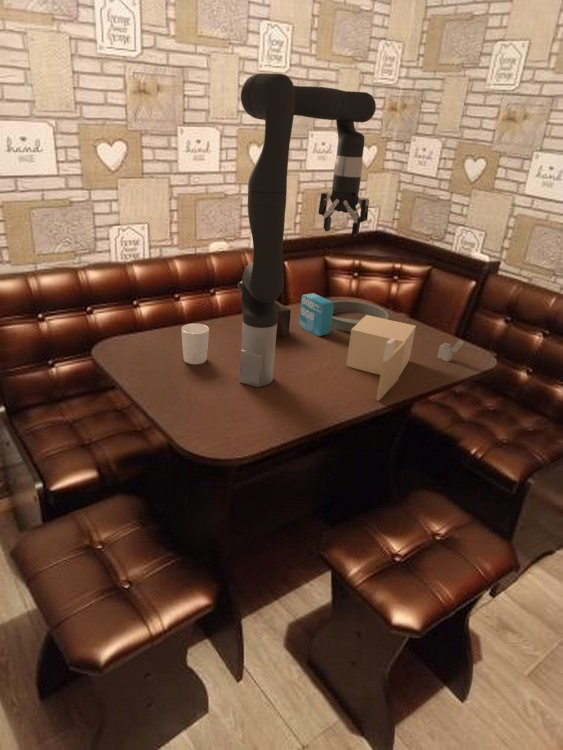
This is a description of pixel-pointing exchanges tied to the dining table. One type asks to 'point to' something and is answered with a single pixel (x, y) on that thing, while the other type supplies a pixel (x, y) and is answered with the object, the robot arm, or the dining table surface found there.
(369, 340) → the carton
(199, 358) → the white cup
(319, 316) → the data package
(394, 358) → the beige wooden slab
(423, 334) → the dining table surface
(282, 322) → the pepper mill
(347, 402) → the dining table surface
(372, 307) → the cake pan
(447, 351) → the lighter
